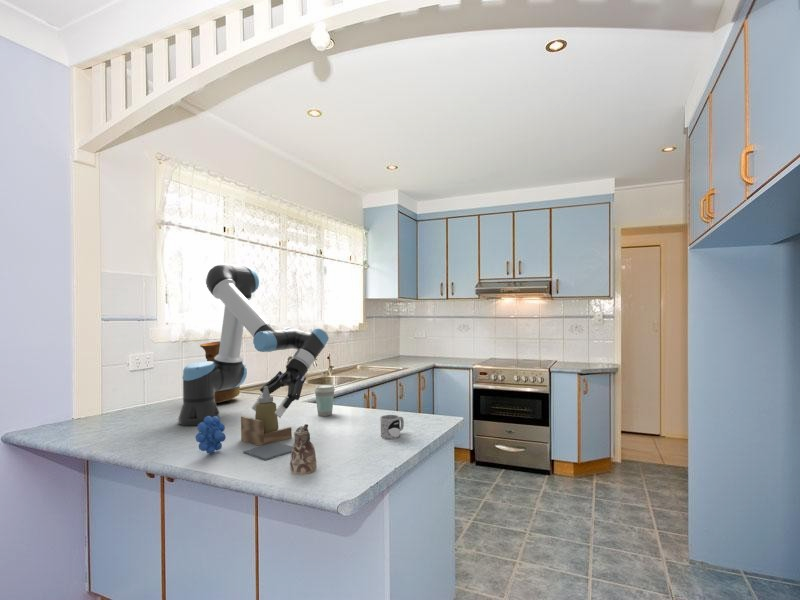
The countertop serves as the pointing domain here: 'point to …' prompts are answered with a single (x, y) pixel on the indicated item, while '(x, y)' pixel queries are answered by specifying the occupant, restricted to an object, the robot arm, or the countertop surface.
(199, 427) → the grapes
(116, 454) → the countertop surface
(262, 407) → the squeeze bottle
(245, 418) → the brown wooden frame
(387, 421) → the mug
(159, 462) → the countertop surface
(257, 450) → the rubber mat
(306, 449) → the figurine
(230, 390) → the ceramic pitcher
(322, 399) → the coffee cup
